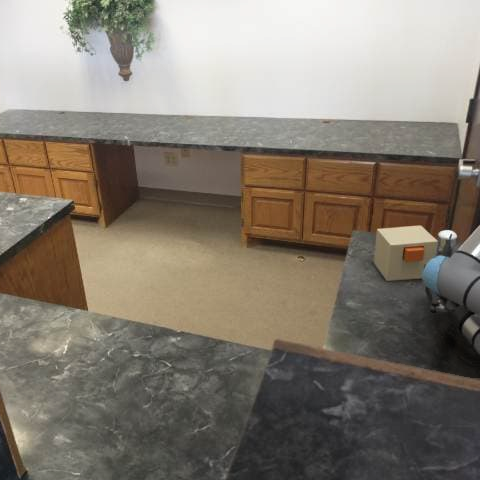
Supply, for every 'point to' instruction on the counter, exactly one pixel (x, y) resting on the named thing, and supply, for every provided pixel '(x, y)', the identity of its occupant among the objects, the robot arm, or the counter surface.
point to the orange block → (413, 254)
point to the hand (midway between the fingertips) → (426, 268)
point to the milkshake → (446, 243)
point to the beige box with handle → (402, 251)
